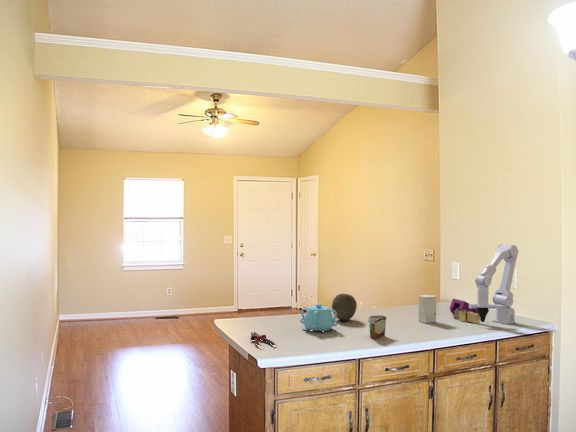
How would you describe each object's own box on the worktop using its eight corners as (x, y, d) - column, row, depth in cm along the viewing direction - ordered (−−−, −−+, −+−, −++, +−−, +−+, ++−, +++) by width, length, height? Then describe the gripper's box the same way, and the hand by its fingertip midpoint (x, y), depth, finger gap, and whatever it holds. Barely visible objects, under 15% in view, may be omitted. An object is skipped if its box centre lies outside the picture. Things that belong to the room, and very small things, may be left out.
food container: (375, 333, 248) (375, 314, 248) (386, 335, 244) (386, 315, 244) (363, 338, 238) (363, 318, 238) (374, 340, 234) (374, 320, 234)
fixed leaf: (466, 320, 278) (466, 310, 278) (464, 321, 277) (464, 310, 277) (456, 318, 284) (456, 308, 284) (453, 318, 283) (454, 308, 283)
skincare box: (425, 323, 270) (425, 297, 270) (417, 321, 276) (418, 295, 276) (436, 322, 274) (437, 295, 274) (429, 319, 280) (429, 294, 279)
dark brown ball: (357, 323, 270) (358, 296, 270) (332, 322, 270) (332, 296, 270) (355, 317, 284) (355, 292, 284) (330, 317, 284) (331, 291, 284)
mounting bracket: (468, 321, 302) (448, 311, 295) (472, 309, 303) (452, 298, 297) (479, 325, 293) (459, 314, 286) (484, 312, 295) (464, 301, 288)
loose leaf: (481, 322, 272) (481, 313, 272) (475, 323, 269) (476, 314, 269) (464, 319, 281) (464, 310, 281) (458, 320, 278) (458, 311, 278)
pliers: (277, 343, 221) (260, 329, 242) (259, 345, 218) (244, 330, 238) (277, 350, 222) (260, 335, 242) (259, 351, 218) (244, 336, 238)
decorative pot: (325, 325, 265) (325, 300, 265) (339, 331, 251) (339, 305, 250) (298, 327, 259) (298, 302, 259) (311, 334, 244) (311, 307, 244)
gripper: (493, 295, 272) (493, 320, 273) (467, 295, 273) (466, 319, 273) (498, 298, 265) (498, 322, 265) (471, 297, 266) (471, 322, 266)
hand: (482, 321), depth 269 cm, fingers closed
